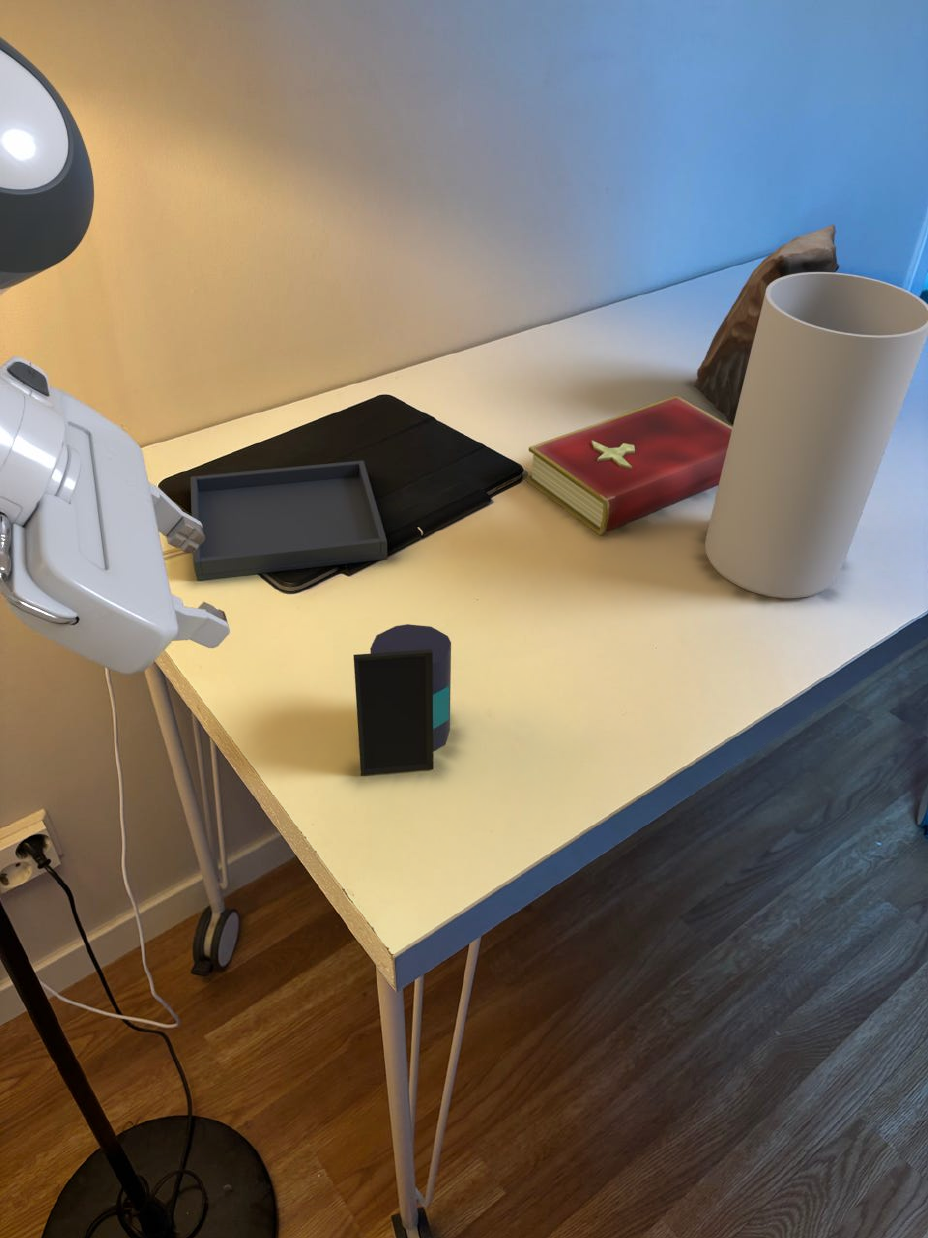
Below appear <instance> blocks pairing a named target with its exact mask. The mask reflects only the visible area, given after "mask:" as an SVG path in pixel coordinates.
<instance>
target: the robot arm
mask: <svg viewBox="0 0 928 1238" xmlns="http://www.w3.org/2000/svg"><path fill="white" fill-rule="evenodd" d="M94 203H95V183H94V175H93V168H92V163H91V159H90V156H89V152H88V149H87V145H86V143H85V140H84V138H83V135H82V132H81V130H80V128H79V125H78V123H77V122H76V119H75V117H74V116H73V114H72V112H71V110H70V109H69V107H68V105H67V104H66V101H65V100H64V99H63V97H62V96H61V94H60V92H58V90H57V89H56V87H55V86H54V84H52V82H51V81H50V80H49V79H48V78H47V76H45V74H43V72H42V71H41V70H40V69H39V68H38V67H37V66H36V65H35V64H34V63H32V62H31V61H30V60H29V59H28V58H27V57H26V56H24V54H22V53H21V52H20V51H19V50H17V49H16V48H15V47H14V46H13V45H12V44H10V43H9V42H7V41H6V40H5V39H4V38H3V37H2V36H0V297H1V296H2V295H4V294H5V293H6V292H7V291H9V290H10V289H11V288H13V287H15V286H17V285H20V284H22V283H23V282H25V281H27V280H29V279H32V278H33V277H35V276H37V275H39V274H41V273H42V272H45V271H46V270H49V269H50V268H53V267H54V266H56V265H58V264H60V263H62V262H63V261H65V260H66V259H67V258H68V257H69V256H71V255H72V254H73V252H75V251H76V250H77V248H78V247H79V246H80V244H81V243H82V241H83V239H84V238H85V236H86V234H87V232H88V229H89V227H90V224H91V221H92V217H93V211H94V207H95V206H94ZM160 534H161V535H163V536H165V538H166V542H167V544H168V545H170V546H172V547H173V548H176V549H179V550H180V551H182V552H183V553H185V554H193V552H195V551H196V550H197V549H198V547H199V545H200V544H202V543H203V542H204V540H205V535H204V530H203V527H202V523H201V522H200V521H198V520H197V519H195V518H193V517H192V515H190V514H188V513H187V512H184V511H183V510H182V509H181V508H180V507H179V505H178V504H177V503H175V502H174V501H173V500H172V499H171V498H170V497H169V496H168V495H167V494H166V493H165V492H164V491H163V490H162V489H161V488H160V487H159V486H157V485H155V484H153V483H151V482H150V481H149V477H148V472H147V468H146V463H145V458H144V451H143V449H142V448H141V446H140V445H139V444H138V443H137V442H136V441H135V440H134V438H132V437H131V435H130V434H129V433H128V432H127V431H125V430H124V429H123V428H122V427H120V426H119V425H118V424H116V423H115V422H113V421H112V420H111V419H109V418H107V417H106V416H105V415H103V414H102V413H100V412H99V411H97V410H96V409H94V408H93V407H91V406H90V405H88V404H87V403H85V402H84V401H82V400H80V399H78V398H77V397H75V396H74V395H72V394H71V393H69V392H67V391H65V390H63V389H61V388H59V387H56V386H51V385H50V379H49V376H48V374H47V373H46V372H45V371H44V369H42V368H40V367H39V366H37V365H35V363H32V362H31V361H29V360H27V359H26V358H24V357H21V356H19V355H15V356H12V357H11V358H9V359H8V360H7V361H6V362H4V363H3V364H2V365H1V366H0V594H1V595H2V596H3V597H4V599H5V600H4V602H5V603H6V604H7V606H8V608H9V609H10V611H11V613H13V615H14V616H15V617H16V618H17V619H18V620H19V621H20V622H22V623H23V624H24V625H25V626H26V627H28V628H29V629H31V630H33V631H34V632H35V633H37V634H39V635H41V636H42V637H44V638H45V639H48V640H49V641H52V642H53V643H55V644H57V645H59V646H61V647H62V648H65V649H67V650H69V651H70V652H72V653H75V654H76V655H78V656H80V657H82V658H84V659H86V660H88V661H91V662H93V663H95V664H96V665H99V666H101V667H102V668H105V669H107V670H110V671H112V672H114V673H117V674H119V675H123V676H129V675H136V674H141V673H143V672H145V671H147V669H149V668H150V667H151V666H152V665H153V664H154V663H155V662H156V660H157V659H159V658H160V656H161V655H162V654H163V653H164V652H165V651H166V649H167V648H168V647H169V646H170V644H172V643H173V642H177V641H178V642H179V641H180V642H181V641H192V642H194V643H196V644H199V645H201V646H203V647H205V648H207V649H215V648H217V647H219V646H220V645H221V644H222V643H223V642H224V641H225V640H226V638H227V637H228V636H229V635H230V633H231V628H230V625H229V622H228V618H227V614H226V613H225V611H224V610H222V609H219V608H218V609H217V608H216V607H215V606H214V605H212V604H209V603H208V602H206V601H203V602H202V603H201V604H200V605H199V606H198V607H191V606H184V601H183V599H182V598H180V597H178V596H177V595H174V594H172V591H171V590H172V589H171V585H170V580H169V574H168V571H167V564H166V560H165V555H164V551H163V550H164V549H163V546H162V541H161V536H160Z"/></svg>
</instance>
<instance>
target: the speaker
mask: <svg viewBox="0 0 928 1238" xmlns="http://www.w3.org/2000/svg"><path fill="white" fill-rule="evenodd" d="M369 649H370V650H369V652H370V653H359V654H358V653H357V654H353V655H352V656H353V670H354V672H353V673H354V684H355V685H354V689H355V702H356V703H355V705H356V719H357V720H356V721H357V736H358V738H357V739H358V750H359V753H358V754H359V769H360V777H361V776H362V777H363V776H373V775H384V774H385V775H386V774H397V773H398V774H399V773H408V772H409V773H410V772H418V771H431V770H434V769H435V768H434V767H435V766H434V765H435V764H434V752H436V751H437V750H439V749H441V748H442V747H444V746H445V745H446V743H447V741H448V738H449V734H450V731H451V680H452V679H451V677H452V642H451V639H450V637H449V635H447V634H445V633H444V632H441V631H440V630H438V629H436V628H434V627H433V626H430V625H419V624H418V625H417V624H410V623H409V624H407V623H406V624H401V625H395V626H393V627H390V628H388V629H387V630H384V631H382V632H380V633H378V634H376V636H375V638H374V640H373V642H372V644H371V646H370V648H369Z"/></svg>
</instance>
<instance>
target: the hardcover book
mask: <svg viewBox="0 0 928 1238" xmlns="http://www.w3.org/2000/svg"><path fill="white" fill-rule="evenodd" d="M732 428H733V426H731V425H730V424H728V423H726V422H724V421H722V420H721V419H719V418H717V417H716V416H714V415H712V414H710V413H709V412H707V411H705V410H703V409H702V408H699V407H698V406H697V405H695V404H692V402H689V401H687V400H686V399H684V398H682V397H680V396H678V395H676V394H675V395H674V396H671V397H668V398H665V399H663V400H659V401H657V402H654V403H651V404H648V405H645V406H643V407H640V408H637V409H633V410H631V411H628V412H626V413H622V414H620V415H619V414H618V415H617V416H614V417H611V418H608V419H605V420H602V421H600V422H596V423H594V424H591V425H588V426H585V427H583V428H580V429H577V430H574V431H571V432H568V433H565V434H562V435H560V436H556V437H555V438H550V439H549V440H546V441H542V442H540V443H537V444H534V445H531V446H528V452H530V453H531V454H532V455H533V458H532V469H531V475H528V476H525V481H526V482H528V483H529V484H530V485H532V486H533V487H534V488H536V489H537V490H538V491H539V492H541V493H542V494H544V495H545V496H546V497H548V498H549V499H550V500H551V501H553V502H555V504H557V505H559V506H560V507H561V508H563V509H564V510H565V511H566V512H568V513H569V514H570V515H572V516H574V518H576V519H577V520H578V521H580V522H581V523H582V524H584V525H585V526H587V527H588V528H589V529H590V530H592V531H594V532H595V533H596V534H597V535H599V536H600V535H601V536H602V535H603V534H605V533H607V532H608V533H609V532H610V531H612V530H615V529H617V528H620V527H622V526H624V525H626V524H630V523H631V522H634V521H636V520H638V519H641V518H643V517H644V518H645V517H646V516H648V515H650V514H651V515H652V514H653V513H655V512H657V511H660V510H663V509H664V508H667V507H669V506H671V505H674V504H677V503H679V502H681V501H684V500H686V499H689V498H691V497H693V496H696V495H698V494H701V493H702V492H705V491H707V490H709V489H712V488H714V487H718V486H719V482H720V478H721V474H722V469H723V465H724V461H725V457H726V453H727V449H728V445H729V441H730V437H731V432H732Z"/></svg>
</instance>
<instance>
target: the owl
mask: <svg viewBox="0 0 928 1238" xmlns="http://www.w3.org/2000/svg"><path fill="white" fill-rule="evenodd" d="M836 233H837V230H836V225H835V224H830V225H827V226H825V227H823V228H820V229H818V230H815V231H813V232H809V233H806V234H803V235H800V236H796V237H793V239H791V240H790V241H788V242H787V243H784V244H783V245H781V246H780V247H778V248H777V249H776V250H775V251H774V252H772V253H770V254H769V255H768V256H766V257H765V258H764V259H763V260H762V261H761V262H760V263H759V265H757V266H756V268H754V269H753V271H752V272H751V274H750V276H749V278H748V279H747V281H746V282H745V283H744V285H743V287H742V288H741V290H740V292H739V294H738V295H737V297H736V299H735V301H734V302H733V304H732V305H731V307H730V309H729V311H728V313H727V315H725V317H724V319H723V321H722V322H721V325H720V326H719V328H718V330H717V331H716V332H715V334H714V336H713V339H712V340H711V343H710V345H709V347H708V350H707V352H706V354H705V356H704V359H703V360H702V362H701V364H700V366H699V367H698V368H697V371H696V376H697V377H696V381H695V382H694V384H693V386H694V387H695V388H696V389H698V391H700V392H701V393H702V395H704V396H705V398H706V399H707V400H708V401H709V402H711V403H712V404H713V405H714V406H715V409H716V410H717V411H719V412H720V413H722V414H723V415H725V416H726V419H727V421H728V422H729V423H731V424H732V425H733V424H734V420H735V416H736V412H737V408H738V404H739V399H740V395H741V391H742V387H743V383H744V379H745V375H746V371H747V367H748V362H749V358H750V354H751V350H752V346H753V342H754V338H755V334H756V330H757V325H758V321H759V317H760V313H761V309H762V305H763V301H764V297H765V292H766V289H767V287H768V285H769V284H770V283H772V282H773V281H775V280H776V279H779V278H781V277H784V276H787V275H792V274H798V273H807V272H831V273H837V271H838V270H839V269H840V264H838V258H837V246H836V245H835V235H836Z"/></svg>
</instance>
